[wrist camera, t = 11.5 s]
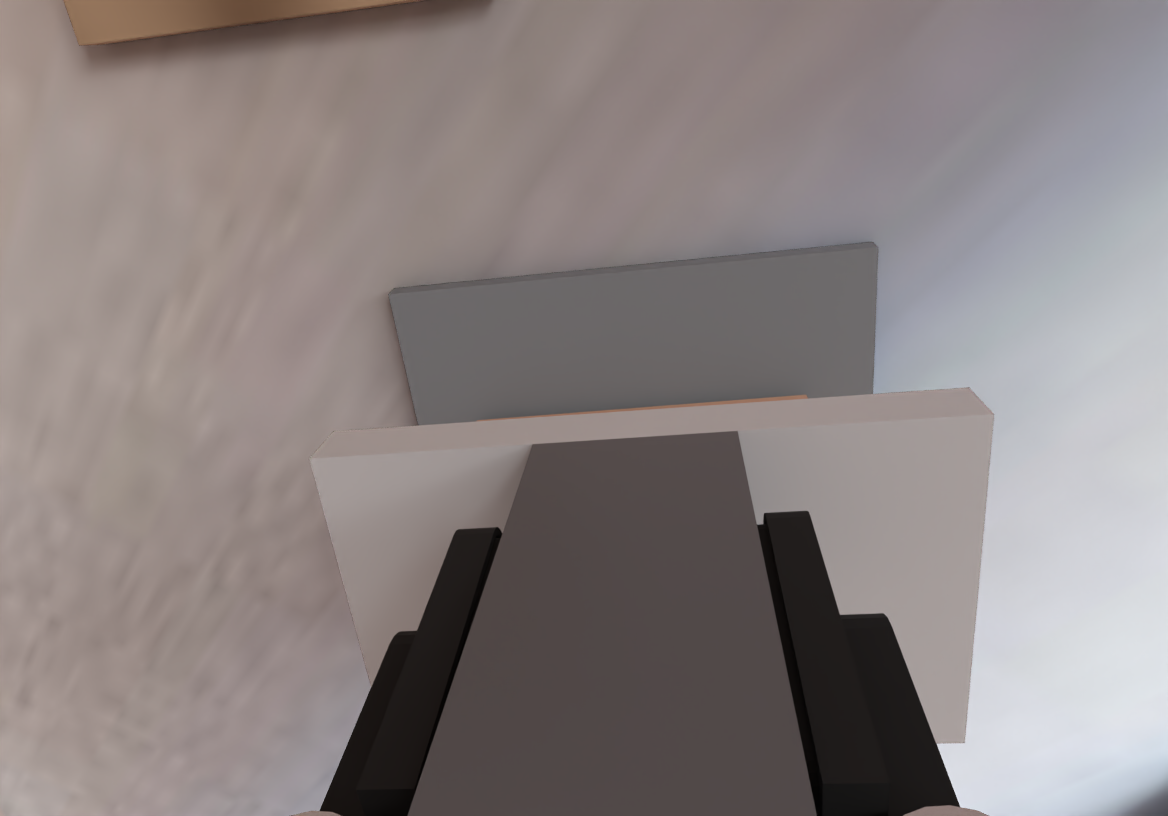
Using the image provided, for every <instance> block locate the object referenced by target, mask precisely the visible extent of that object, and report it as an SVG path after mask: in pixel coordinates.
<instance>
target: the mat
mask: <svg viewBox="0 0 1168 816" xmlns="http://www.w3.org/2000/svg"><path fill="white" fill-rule="evenodd" d="M877 269H878V246H877V245H876V244H874V243H873V242H866V243H856V244H845V245H835V246H825V247H814V248H804V249H794V250H784V251H773V252H763V253H753V254H742V255H732V256H722V257H712V258H701V259H691V260H681V261H670V262H660V263H650V264H640V265H629V266H619V267H609V268H598V269H588V270H578V271H568V272H557V273H547V274H537V275H526V276H516V277H506V278H496V279H485V280H475V281H465V282H455V283H444V284H434V285H424V286H413V287H403V288H394V289H393V290H392V291H391V292H390V293H389V294H388V295H389V300H390V304H391V308H392V313H393V317H394V322H395V326H396V330H397V335H398V339H399V343H400V348H401V352H402V357H403V361H404V365H405V370H406V374H407V378H408V383H409V387H410V392H411V396H412V400H413V405H414V409H415V413H416V418H417V422H418V426H419V425H433V424H448V423H462V422H477V420H486V419H499V418H512V417H525V416H537V415H550V414H563V413H576V412H589V411H602V410H615V409H628V408H640V407H653V406H666V405H679V404H692V403H705V402H718V401H731V400H744V399H756V398H769V397H782V396H795V395H807V397H808V399H809V398H823V397H838V396H852V395H867V394H873V376H874V349H875V322H876V295H877Z"/></svg>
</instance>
